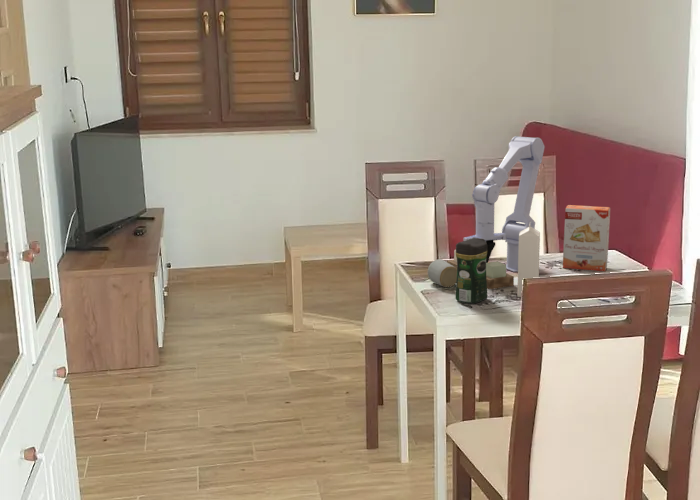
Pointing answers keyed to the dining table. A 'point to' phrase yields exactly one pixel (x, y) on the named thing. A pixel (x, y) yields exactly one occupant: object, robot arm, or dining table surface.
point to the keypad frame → (493, 279)
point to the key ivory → (455, 256)
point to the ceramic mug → (442, 273)
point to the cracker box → (586, 237)
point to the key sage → (495, 269)
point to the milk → (528, 255)
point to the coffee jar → (471, 271)
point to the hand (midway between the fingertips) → (484, 263)
